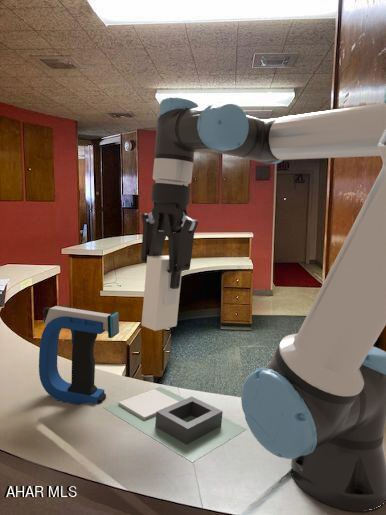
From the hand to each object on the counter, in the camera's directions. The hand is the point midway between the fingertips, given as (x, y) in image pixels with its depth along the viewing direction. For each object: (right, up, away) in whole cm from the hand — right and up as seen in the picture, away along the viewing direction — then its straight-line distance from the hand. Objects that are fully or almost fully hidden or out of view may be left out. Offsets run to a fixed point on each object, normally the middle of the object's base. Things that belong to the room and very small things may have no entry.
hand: (161, 301), depth 83 cm
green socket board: (+2, -24, -1) cm, 24 cm away
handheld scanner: (-18, -22, +5) cm, 29 cm away
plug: (0, -5, +1) cm, 5 cm away
